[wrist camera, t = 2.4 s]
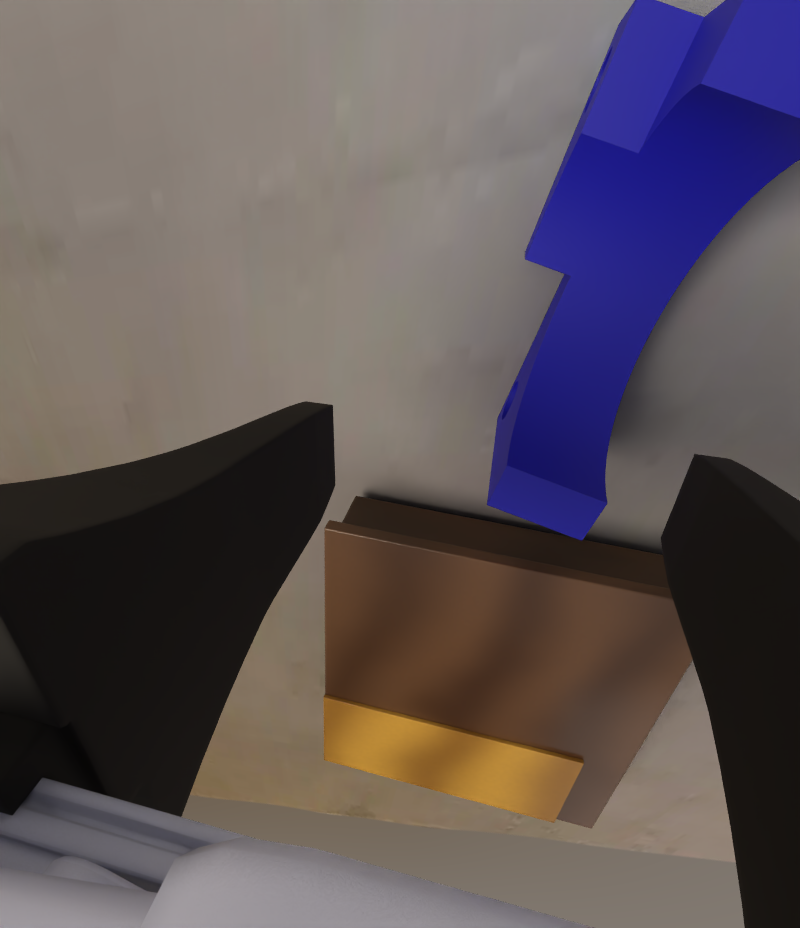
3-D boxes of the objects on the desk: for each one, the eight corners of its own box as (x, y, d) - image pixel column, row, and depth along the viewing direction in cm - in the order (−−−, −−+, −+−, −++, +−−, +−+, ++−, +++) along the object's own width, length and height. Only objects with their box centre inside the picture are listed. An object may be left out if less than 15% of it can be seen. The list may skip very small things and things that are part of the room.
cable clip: (619, 24, 14) (671, -53, 9) (779, 80, 14) (925, 36, 8) (462, 404, 20) (439, 487, 15) (569, 444, 20) (581, 540, 15)
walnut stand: (696, 545, 21) (725, 614, 18) (585, 762, 30) (592, 833, 27) (350, 480, 23) (322, 531, 20) (344, 700, 32) (324, 760, 29)
